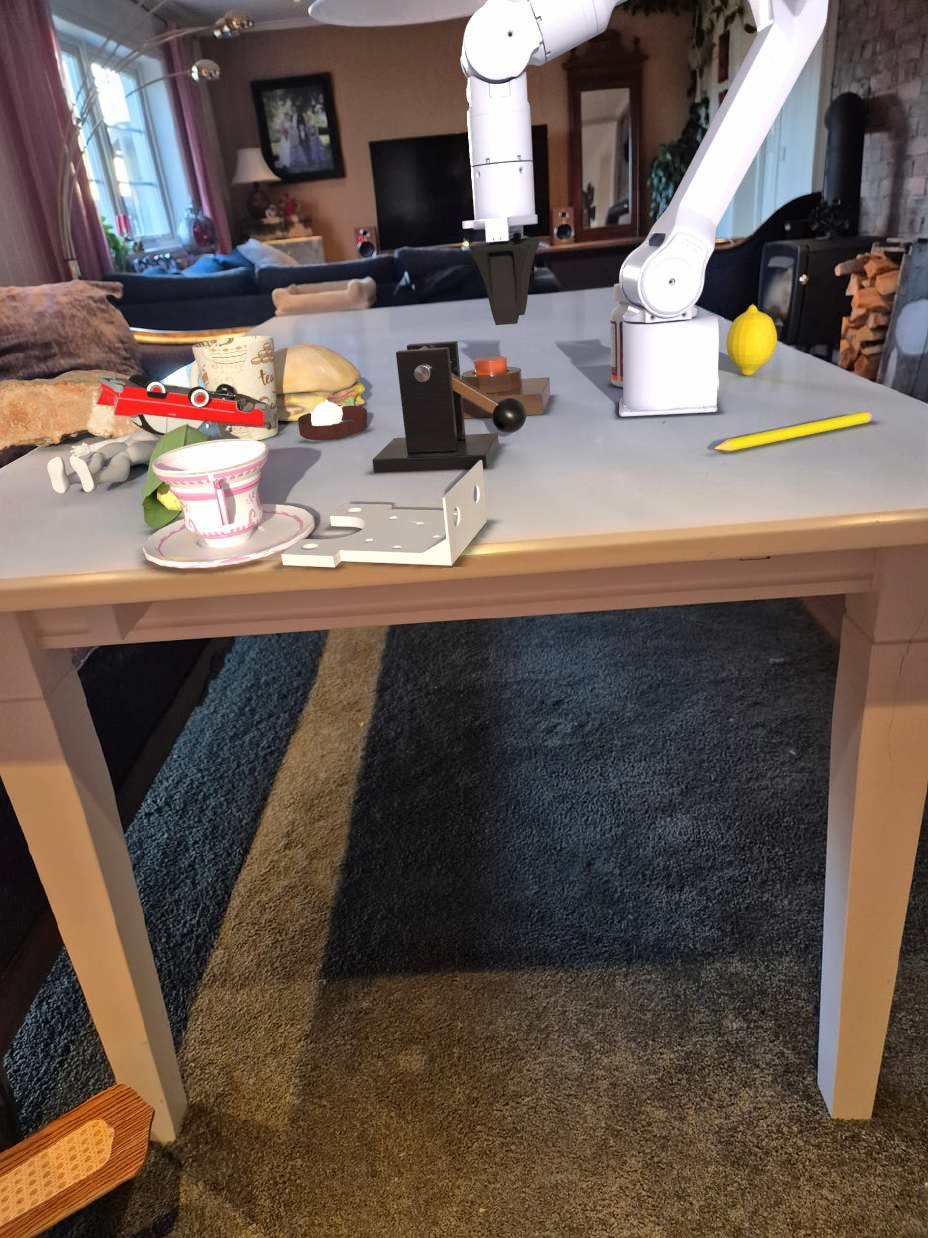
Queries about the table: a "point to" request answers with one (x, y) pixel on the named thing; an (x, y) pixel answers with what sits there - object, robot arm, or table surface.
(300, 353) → the burger
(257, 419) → the toy car
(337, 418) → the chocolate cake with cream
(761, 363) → the fruit
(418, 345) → the lever stand
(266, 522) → the teacup
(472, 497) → the bracket
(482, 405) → the lever
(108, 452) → the character figure
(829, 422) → the pencil
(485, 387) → the button block
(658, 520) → the table surface
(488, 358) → the press button
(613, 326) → the pill bottle
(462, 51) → the robot arm
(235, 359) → the mug
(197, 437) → the edible corn
